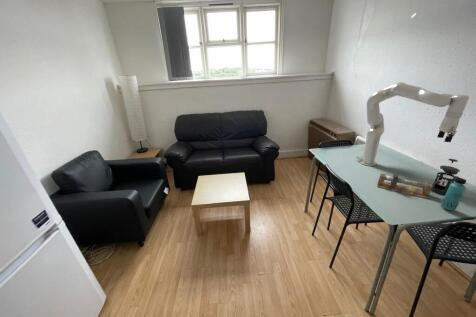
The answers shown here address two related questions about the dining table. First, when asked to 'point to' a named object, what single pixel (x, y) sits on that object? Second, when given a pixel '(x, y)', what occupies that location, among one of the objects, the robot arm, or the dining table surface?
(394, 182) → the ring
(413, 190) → the pipe stand
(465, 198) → the dining table surface
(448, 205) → the beverage bottle
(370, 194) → the dining table surface
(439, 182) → the french press
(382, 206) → the dining table surface
